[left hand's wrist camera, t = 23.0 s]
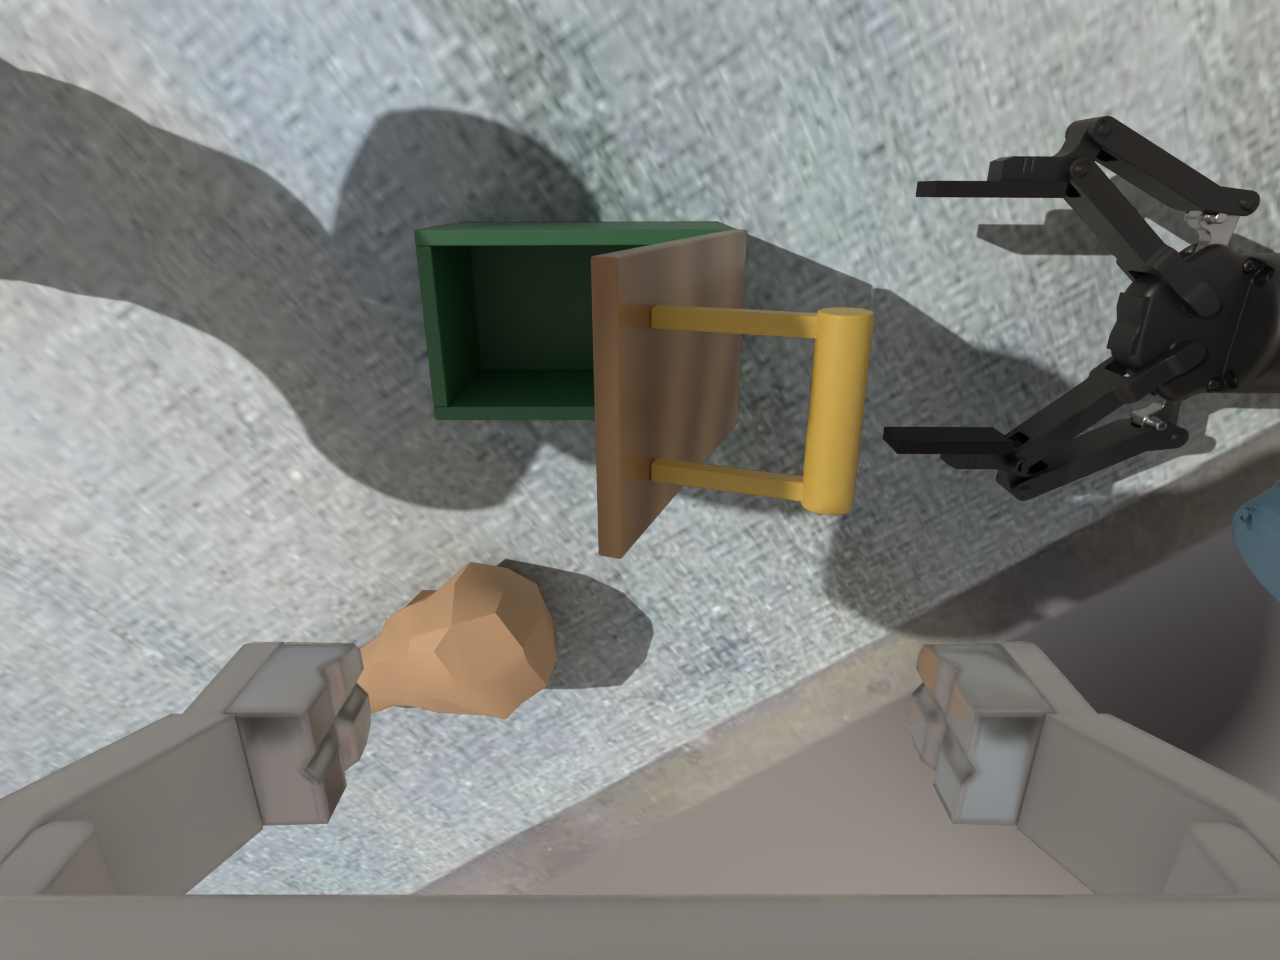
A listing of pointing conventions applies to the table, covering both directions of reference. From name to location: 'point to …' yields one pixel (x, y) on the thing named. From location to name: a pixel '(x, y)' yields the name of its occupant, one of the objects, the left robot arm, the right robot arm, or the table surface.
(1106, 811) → the left robot arm
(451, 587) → the squash
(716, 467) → the lid
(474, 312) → the chest
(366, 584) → the table surface
